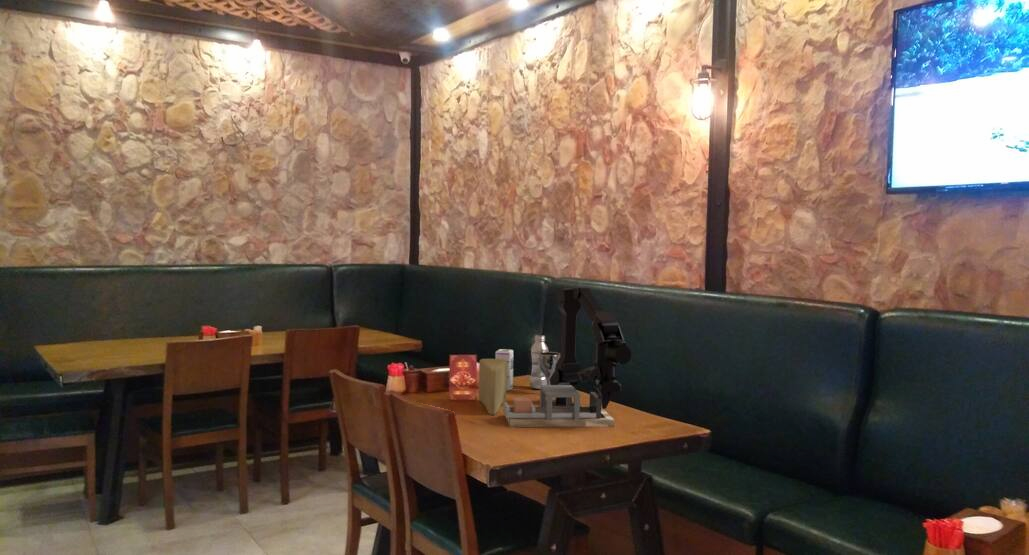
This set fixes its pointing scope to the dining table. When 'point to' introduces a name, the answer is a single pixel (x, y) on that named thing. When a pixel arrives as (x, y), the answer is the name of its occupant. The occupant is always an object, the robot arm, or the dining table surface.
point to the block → (522, 405)
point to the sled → (593, 408)
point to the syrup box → (508, 356)
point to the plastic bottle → (537, 374)
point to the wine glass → (548, 363)
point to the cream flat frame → (563, 421)
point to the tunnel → (559, 391)
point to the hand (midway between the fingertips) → (603, 408)
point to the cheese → (492, 383)
